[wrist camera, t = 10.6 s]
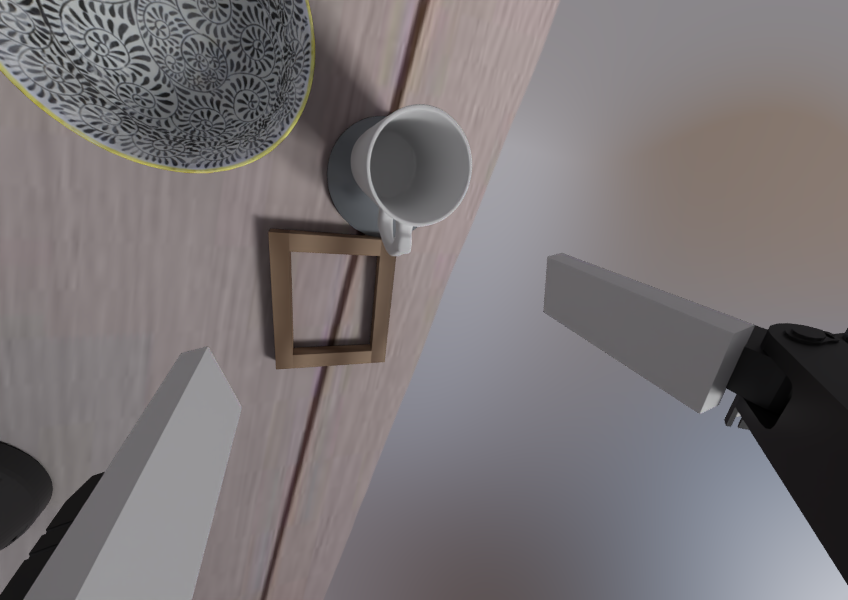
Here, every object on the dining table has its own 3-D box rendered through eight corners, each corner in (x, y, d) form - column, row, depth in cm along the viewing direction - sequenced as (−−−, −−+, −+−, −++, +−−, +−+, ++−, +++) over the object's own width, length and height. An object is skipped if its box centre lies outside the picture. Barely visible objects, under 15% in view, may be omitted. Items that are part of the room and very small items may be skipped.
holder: (277, 361, 34) (276, 369, 33) (270, 228, 28) (268, 231, 27) (382, 355, 38) (384, 362, 37) (394, 237, 33) (397, 241, 31)
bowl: (107, -201, 17) (-20, -418, 11) (352, 41, 25) (365, 1, 18) (9, 63, 20) (-138, 18, 13) (257, 207, 27) (239, 223, 21)
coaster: (326, 232, 30) (326, 234, 30) (328, 104, 26) (328, 103, 25) (429, 240, 34) (430, 241, 33) (445, 129, 30) (448, 128, 29)
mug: (350, 115, 26) (373, 89, 16) (423, 133, 29) (483, 120, 18) (341, 230, 30) (355, 270, 20) (406, 238, 32) (449, 276, 22)
